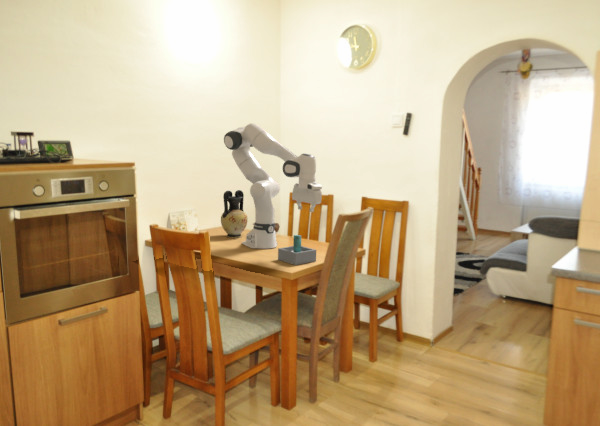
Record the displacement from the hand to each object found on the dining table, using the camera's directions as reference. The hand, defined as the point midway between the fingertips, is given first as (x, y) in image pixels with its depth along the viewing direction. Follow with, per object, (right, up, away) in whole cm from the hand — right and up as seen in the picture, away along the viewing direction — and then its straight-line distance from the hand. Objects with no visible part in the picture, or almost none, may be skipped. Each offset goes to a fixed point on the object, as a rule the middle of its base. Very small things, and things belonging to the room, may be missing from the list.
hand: (305, 210), depth 249 cm
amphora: (-46, -17, +52) cm, 72 cm away
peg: (-5, -25, -7) cm, 26 cm away
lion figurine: (-22, -17, +54) cm, 61 cm away
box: (-5, -26, -7) cm, 27 cm away
